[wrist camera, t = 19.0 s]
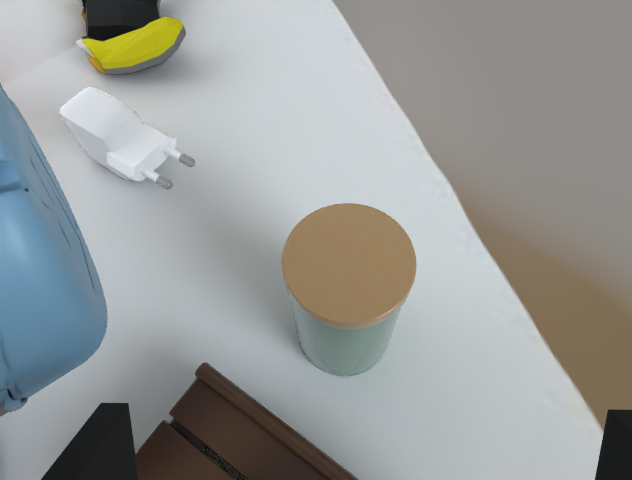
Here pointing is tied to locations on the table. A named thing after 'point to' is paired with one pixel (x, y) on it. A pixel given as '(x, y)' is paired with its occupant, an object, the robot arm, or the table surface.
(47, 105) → the table surface
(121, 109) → the power adapter
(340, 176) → the table surface
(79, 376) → the table surface
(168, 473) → the rack
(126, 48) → the black and yellow shoe
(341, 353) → the canister
